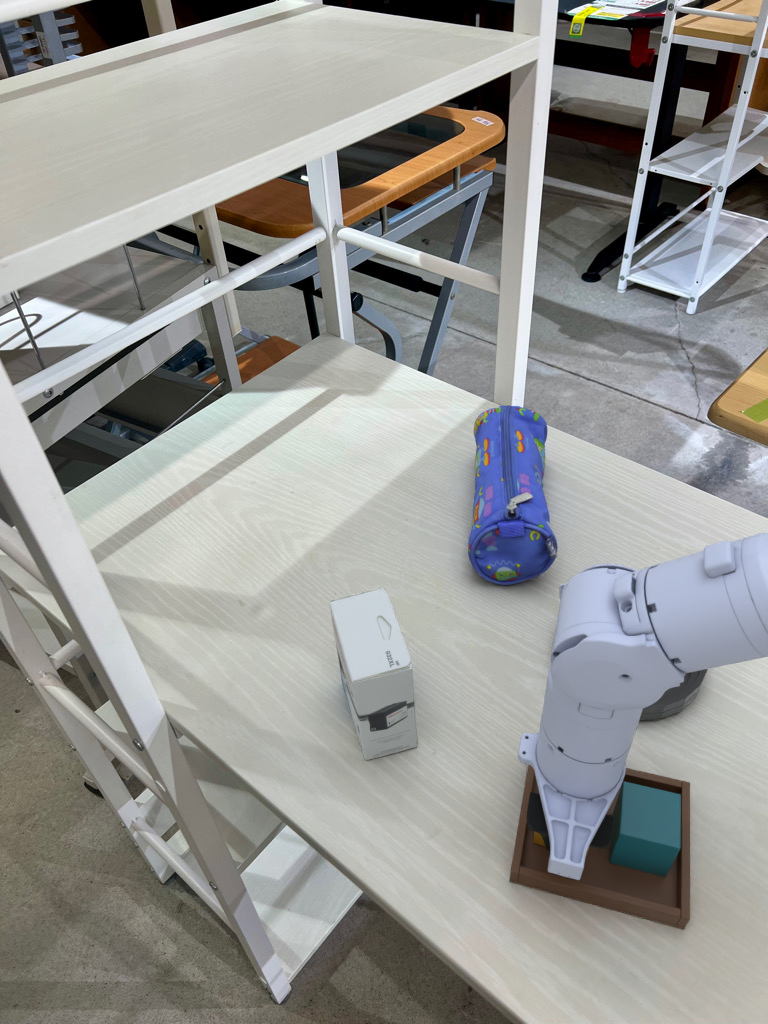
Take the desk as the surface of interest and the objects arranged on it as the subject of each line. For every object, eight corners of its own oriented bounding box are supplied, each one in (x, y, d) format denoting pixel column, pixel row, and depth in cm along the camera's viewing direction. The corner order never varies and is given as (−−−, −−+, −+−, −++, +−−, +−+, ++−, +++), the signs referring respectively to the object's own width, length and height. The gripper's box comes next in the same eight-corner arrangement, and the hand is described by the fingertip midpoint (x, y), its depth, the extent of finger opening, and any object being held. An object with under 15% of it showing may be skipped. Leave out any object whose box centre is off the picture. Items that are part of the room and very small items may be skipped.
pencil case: (553, 597, 74) (563, 528, 68) (466, 593, 75) (468, 525, 69) (543, 457, 90) (550, 390, 83) (472, 455, 91) (473, 389, 85)
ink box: (340, 680, 68) (326, 597, 60) (392, 667, 69) (384, 583, 61) (363, 763, 62) (350, 683, 54) (419, 747, 63) (415, 666, 55)
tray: (684, 793, 59) (690, 782, 58) (684, 929, 52) (690, 920, 50) (529, 757, 62) (531, 745, 61) (509, 881, 55) (510, 871, 53)
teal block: (665, 877, 54) (680, 848, 51) (609, 863, 55) (619, 833, 52) (667, 824, 57) (681, 794, 53) (612, 811, 58) (623, 780, 54)
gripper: (539, 622, 53) (525, 724, 62) (505, 814, 43) (494, 901, 52) (642, 641, 51) (612, 743, 61) (631, 846, 41) (597, 930, 51)
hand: (564, 818), depth 57 cm, fingers closed on mustard block, 4 cm apart
